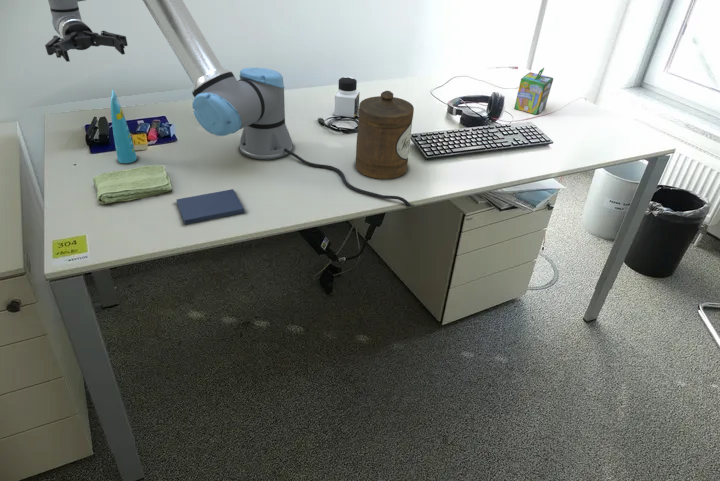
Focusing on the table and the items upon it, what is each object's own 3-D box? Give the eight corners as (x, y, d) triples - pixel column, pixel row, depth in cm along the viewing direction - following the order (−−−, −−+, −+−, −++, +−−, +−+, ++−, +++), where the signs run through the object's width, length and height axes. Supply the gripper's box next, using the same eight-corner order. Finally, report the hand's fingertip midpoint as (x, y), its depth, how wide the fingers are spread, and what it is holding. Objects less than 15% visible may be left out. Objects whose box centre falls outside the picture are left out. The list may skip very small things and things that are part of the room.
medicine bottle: (354, 118, 176) (356, 83, 169) (334, 115, 177) (334, 80, 170) (358, 110, 182) (360, 76, 175) (339, 108, 183) (339, 74, 176)
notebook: (233, 193, 133) (233, 188, 132) (244, 212, 125) (243, 208, 125) (177, 203, 127) (176, 199, 127) (184, 224, 120) (184, 220, 120)
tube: (138, 164, 143) (123, 96, 132) (119, 167, 141) (102, 98, 130) (135, 152, 148) (120, 86, 137) (116, 155, 146) (100, 88, 135)
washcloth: (175, 193, 131) (173, 181, 129) (99, 207, 124) (95, 196, 122) (164, 170, 141) (162, 159, 139) (93, 183, 133) (90, 171, 132)
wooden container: (411, 179, 143) (420, 102, 130) (357, 179, 141) (361, 101, 129) (403, 155, 155) (410, 82, 142) (353, 154, 153) (356, 81, 141)
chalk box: (522, 102, 196) (531, 62, 187) (545, 108, 192) (556, 68, 183) (512, 109, 190) (522, 68, 181) (537, 115, 186) (547, 74, 177)
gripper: (124, 41, 157) (146, 60, 144) (32, 52, 145) (46, 74, 131) (118, 15, 153) (141, 32, 139) (23, 24, 141) (37, 43, 127)
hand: (95, 52), depth 135 cm, fingers open, 13 cm apart
